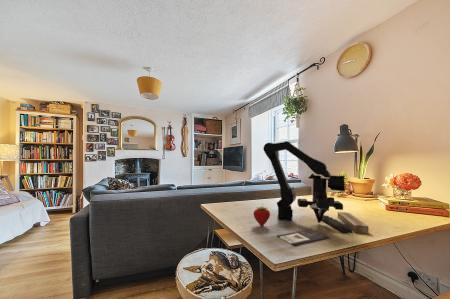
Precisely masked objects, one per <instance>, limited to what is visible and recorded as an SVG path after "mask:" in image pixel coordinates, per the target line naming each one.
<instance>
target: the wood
mask: <svg viewBox="0 0 450 299" xmlns="http://www.w3.org/2000/svg"><path fill="white" fill-rule="evenodd" d="M321 221H323V222H324V223H326V225H329V226H331V227H332V228H334V229H335V230H337V231H338V232H339V233H342V234H354V232H353V231H352V230H351V228H350V227H348V226H347V225H345V224H344V223H343V222H342V221H339V219H334V218H333V217H330V216H329V215H325V214H324V215H323V217H322V220H321Z"/></svg>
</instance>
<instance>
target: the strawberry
mask: <svg viewBox="0 0 450 299" xmlns="http://www.w3.org/2000/svg"><path fill="white" fill-rule="evenodd" d="M261 205H262V206H260V207H256V208H255V210H253V218H254V219H255V221H256V223H258V225H259V226H260V227H264V225H265V224H266V223H267V222H268V221H269V219H270V215H271V213H270V211H269V210H268V207H264V205H263V203H261Z"/></svg>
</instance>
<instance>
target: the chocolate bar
mask: <svg viewBox="0 0 450 299" xmlns="http://www.w3.org/2000/svg"><path fill="white" fill-rule="evenodd" d="M276 237H277V238H279V239H280V240H282V241H283V242H286V243H288V244H289V245H291V246H293V247H296V246H300V245H305V244H310V243H314V242H320V241H324V240H329V239H331V238H330V236H328V235H326V234H324V233H321V232H318V231H317V230H314V229H313V228H310V229H305V230H304V229H303V230H299V231H294V232H287V233H283V234H278V235H277V234H276Z"/></svg>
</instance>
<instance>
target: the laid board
mask: <svg viewBox="0 0 450 299" xmlns="http://www.w3.org/2000/svg"><path fill="white" fill-rule="evenodd" d="M337 218H338V219H337V220H338V221H339V220H340V222H341V223H343V224H345V225H347V226H348V227H350V228H351V230H352V233H359V234H369V225H368V224H366V223H365V222H364V221H362V220H360V219H359V218H358V217H356V216H355V215H353V214H352V213H350V212H345V211H344V212H342V211H341V212H340V211H338V212H337Z"/></svg>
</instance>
